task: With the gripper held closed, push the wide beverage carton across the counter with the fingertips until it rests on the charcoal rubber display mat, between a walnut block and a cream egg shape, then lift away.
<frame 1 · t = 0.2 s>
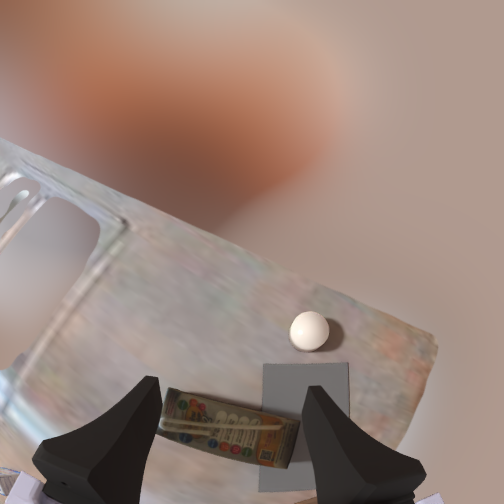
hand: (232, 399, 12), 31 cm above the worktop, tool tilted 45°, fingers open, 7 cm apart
medicine box: (17, 479, 23), on the worktop
cream egg shape: (306, 335, 45), on the worktop
beverage carton: (228, 428, 36), on the worktop, touching mat
mat: (306, 429, 36), on the worktop
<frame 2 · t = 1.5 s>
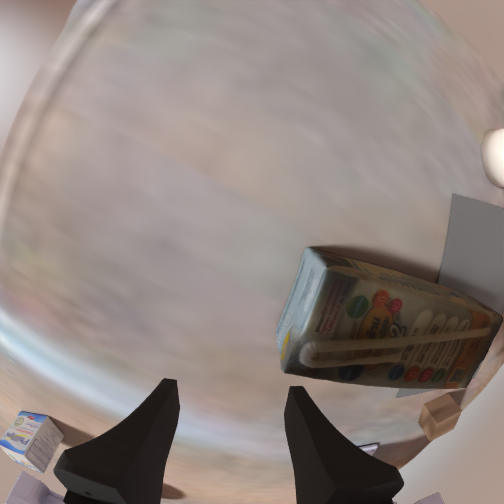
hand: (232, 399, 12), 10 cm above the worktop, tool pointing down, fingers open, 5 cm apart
medicine box: (42, 422, 27), on the worktop
cream egg shape: (496, 158, 19), on the worktop
beverage carton: (387, 311, 22), on the worktop, touching mat
mat: (473, 307, 23), on the worktop
walnut block: (432, 407, 27), on the worktop
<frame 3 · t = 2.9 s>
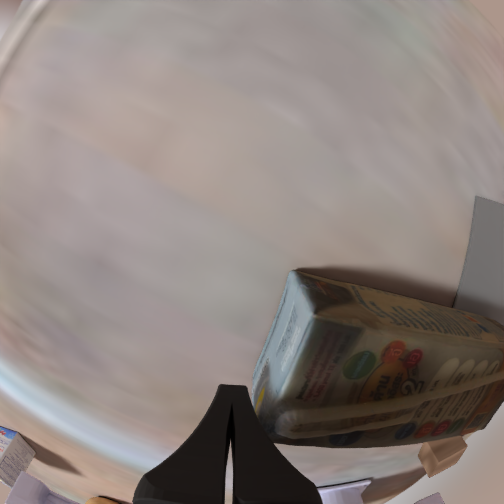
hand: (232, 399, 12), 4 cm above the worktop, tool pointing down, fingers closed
medicine box: (14, 437, 21), on the worktop
onion: (113, 502, 25), on the worktop
beverage carton: (396, 345, 17), on the worktop, touching gripper, mat
mat: (490, 333, 17), on the worktop
walnut block: (435, 440, 21), on the worktop
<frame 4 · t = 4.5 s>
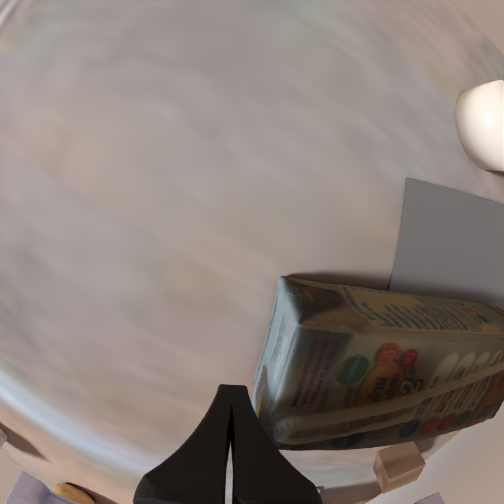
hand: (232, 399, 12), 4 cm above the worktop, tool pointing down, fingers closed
cream egg shape: (481, 128, 13), on the worktop
onion: (79, 490, 25), on the worktop
beverage carton: (397, 341, 17), on the worktop, touching gripper
mat: (445, 340, 17), on the worktop
walnut block: (392, 453, 21), on the worktop
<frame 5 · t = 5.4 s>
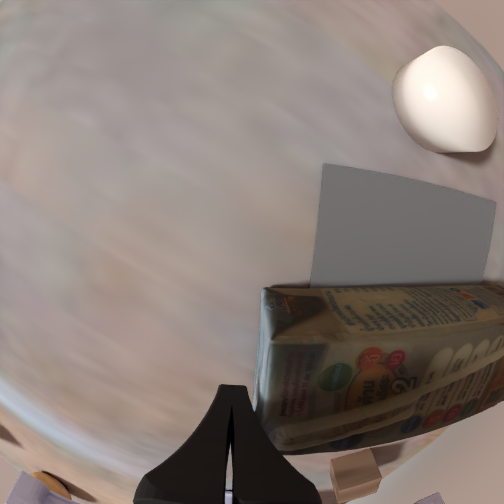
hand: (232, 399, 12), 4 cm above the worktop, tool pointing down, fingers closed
cream egg shape: (430, 106, 13), on the worktop
onion: (55, 479, 24), on the worktop
beverage carton: (395, 334, 16), on the worktop, touching gripper, mat
mat: (395, 347, 17), on the worktop
walnut block: (349, 462, 21), on the worktop
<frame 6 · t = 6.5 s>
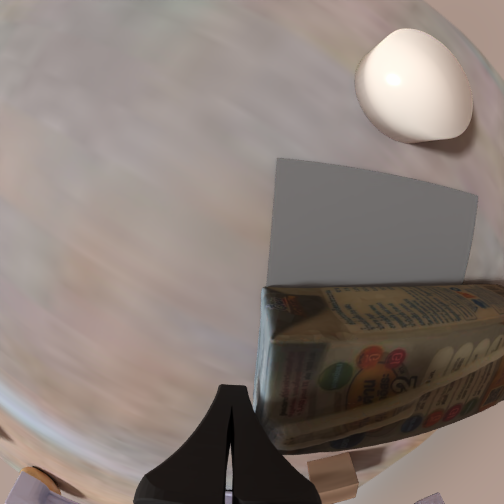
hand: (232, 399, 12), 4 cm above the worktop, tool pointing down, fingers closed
cream egg shape: (399, 94, 13), on the worktop
onion: (45, 474, 24), on the worktop
beverage carton: (395, 334, 16), on the worktop, touching gripper, mat
mat: (365, 349, 17), on the worktop
walnut block: (328, 465, 21), on the worktop
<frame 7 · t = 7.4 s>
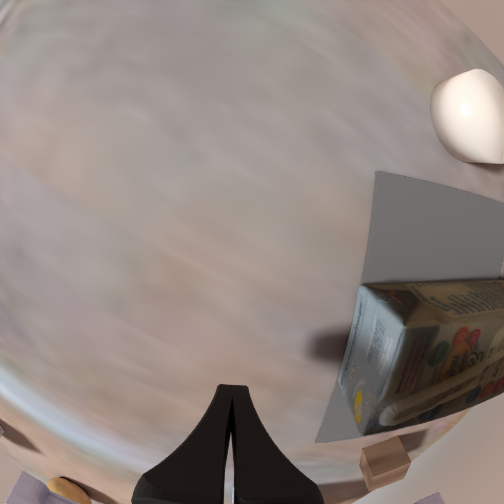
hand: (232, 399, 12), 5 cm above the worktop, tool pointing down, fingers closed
cream egg shape: (460, 120, 13), on the worktop
onion: (73, 484, 25), on the worktop
beverage carton: (449, 323, 17), resting on mat
mat: (427, 337, 17), on the worktop
walnut block: (378, 450, 22), on the worktop
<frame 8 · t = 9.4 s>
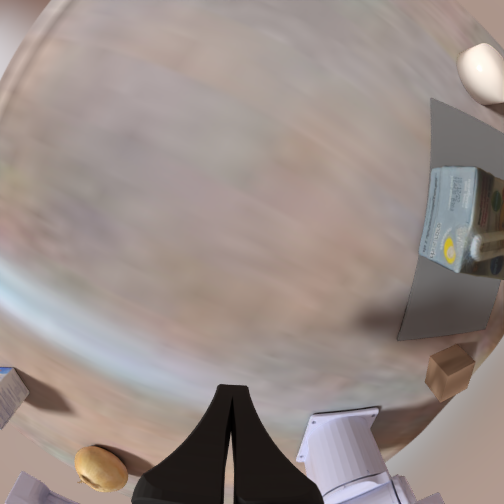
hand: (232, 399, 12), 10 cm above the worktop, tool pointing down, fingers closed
medicine box: (10, 378, 25), on the worktop
cream egg shape: (475, 78, 16), on the worktop
onion: (106, 454, 28), on the worktop
beverage carton: (486, 227, 20), resting on mat
mat: (474, 231, 20), on the worktop
walnut block: (440, 363, 24), on the worktop
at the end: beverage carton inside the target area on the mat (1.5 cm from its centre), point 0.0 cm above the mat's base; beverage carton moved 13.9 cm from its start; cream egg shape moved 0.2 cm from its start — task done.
